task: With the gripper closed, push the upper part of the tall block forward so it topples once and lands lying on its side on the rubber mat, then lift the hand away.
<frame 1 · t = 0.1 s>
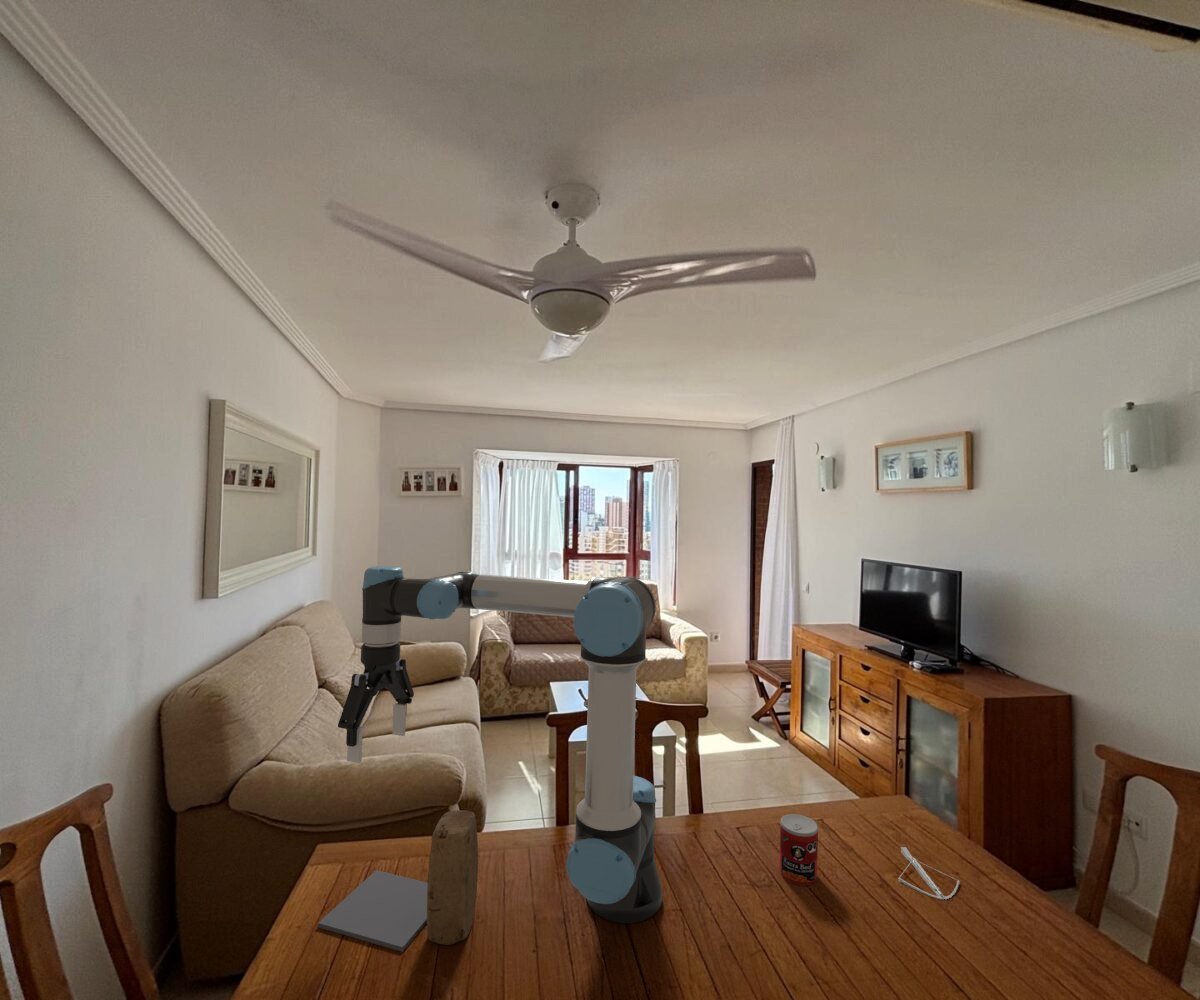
hand: (377, 747, 115), 28 cm above the table, fingers open, 13 cm apart
block: (452, 927, 105), on the table
canned food: (798, 875, 122), on the table
crossbow: (922, 877, 124), on the table
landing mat: (388, 909, 109), on the table
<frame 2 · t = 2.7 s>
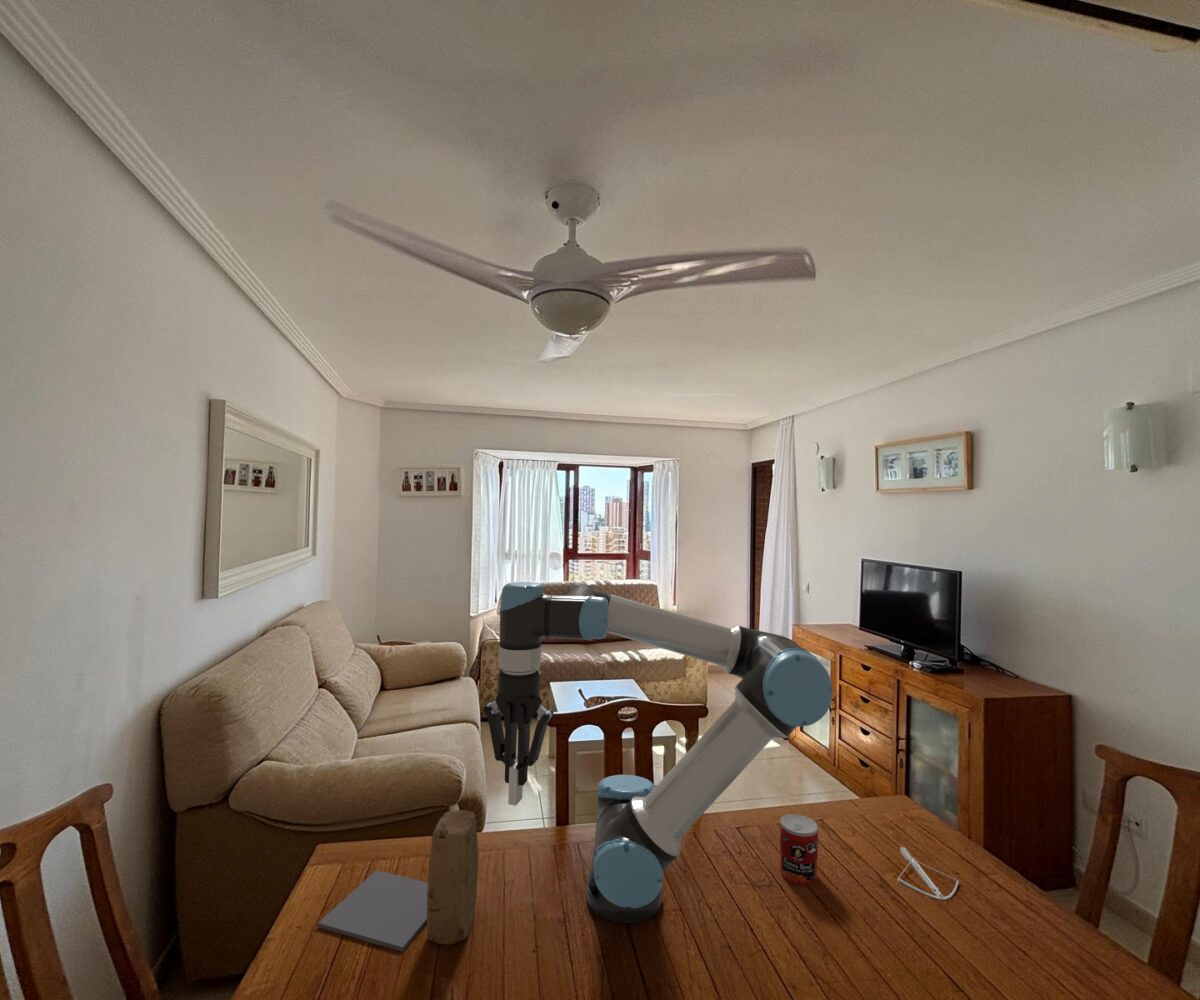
hand: (515, 801, 102), 25 cm above the table, fingers closed
nothing on the table moved.
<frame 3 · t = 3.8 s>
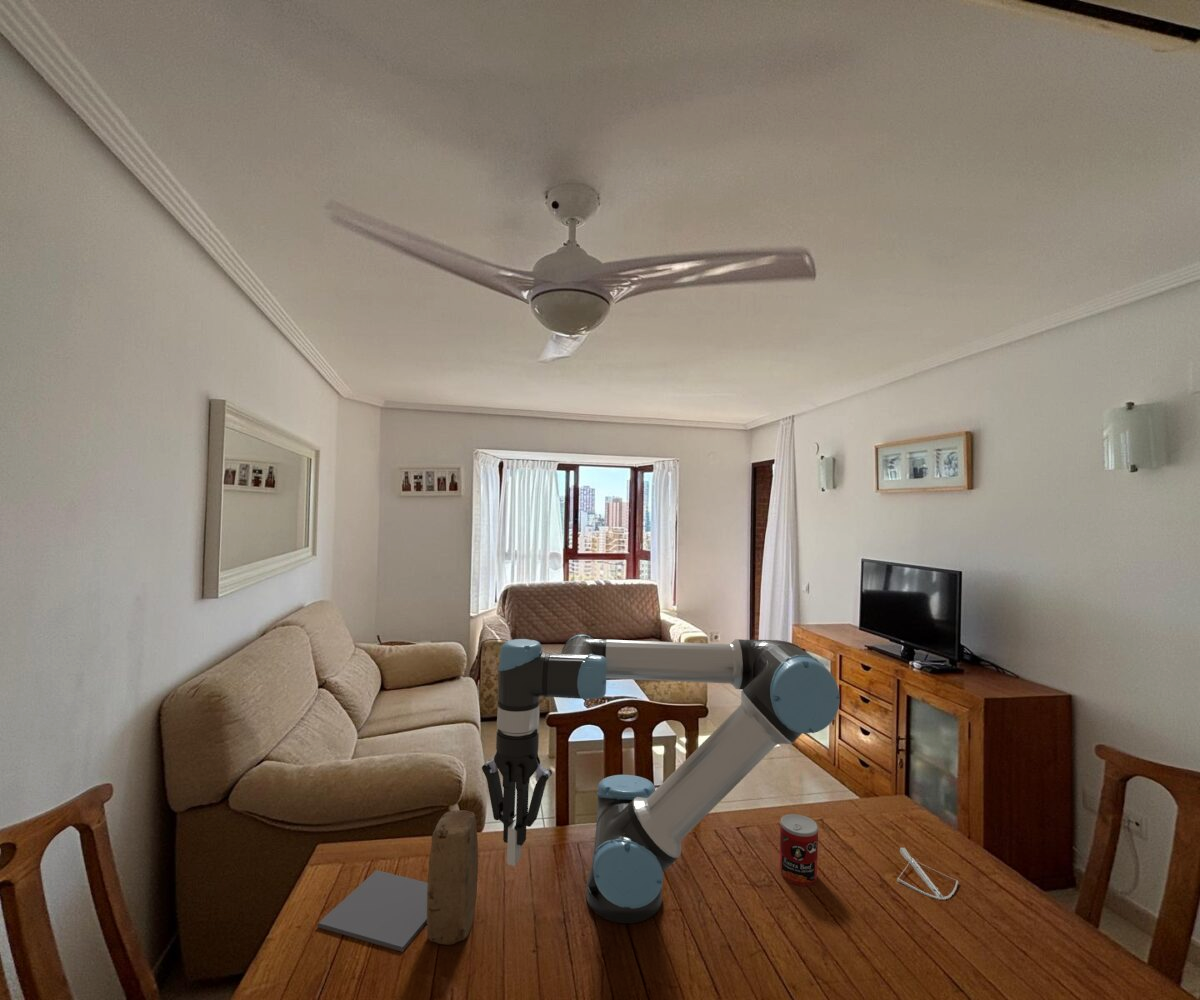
hand: (514, 860, 101), 14 cm above the table, fingers closed
nothing on the table moved.
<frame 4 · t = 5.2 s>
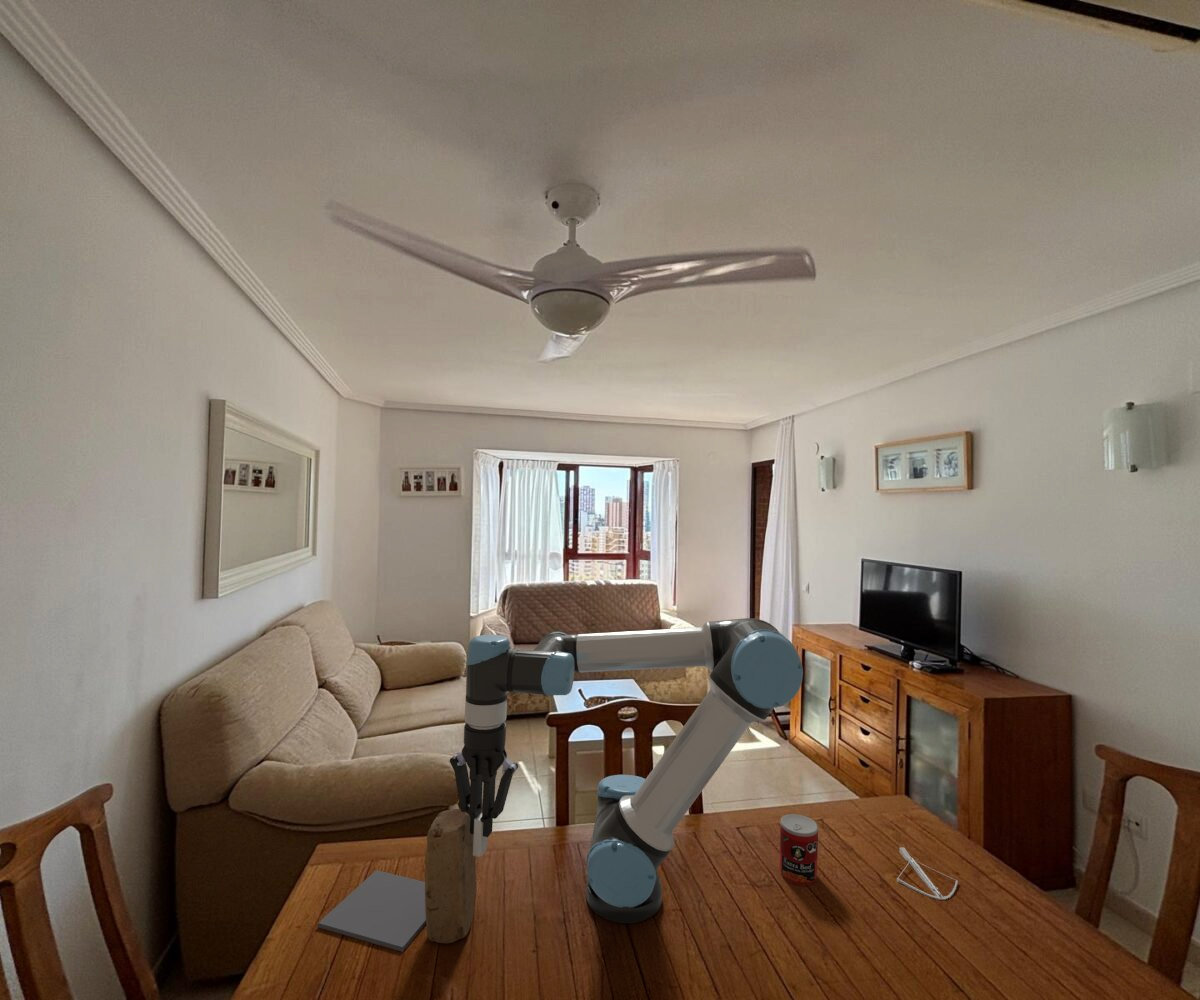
hand: (480, 852, 103), 15 cm above the table, fingers closed
block: (452, 926, 105), on the table, touching gripper
everything else where it was.
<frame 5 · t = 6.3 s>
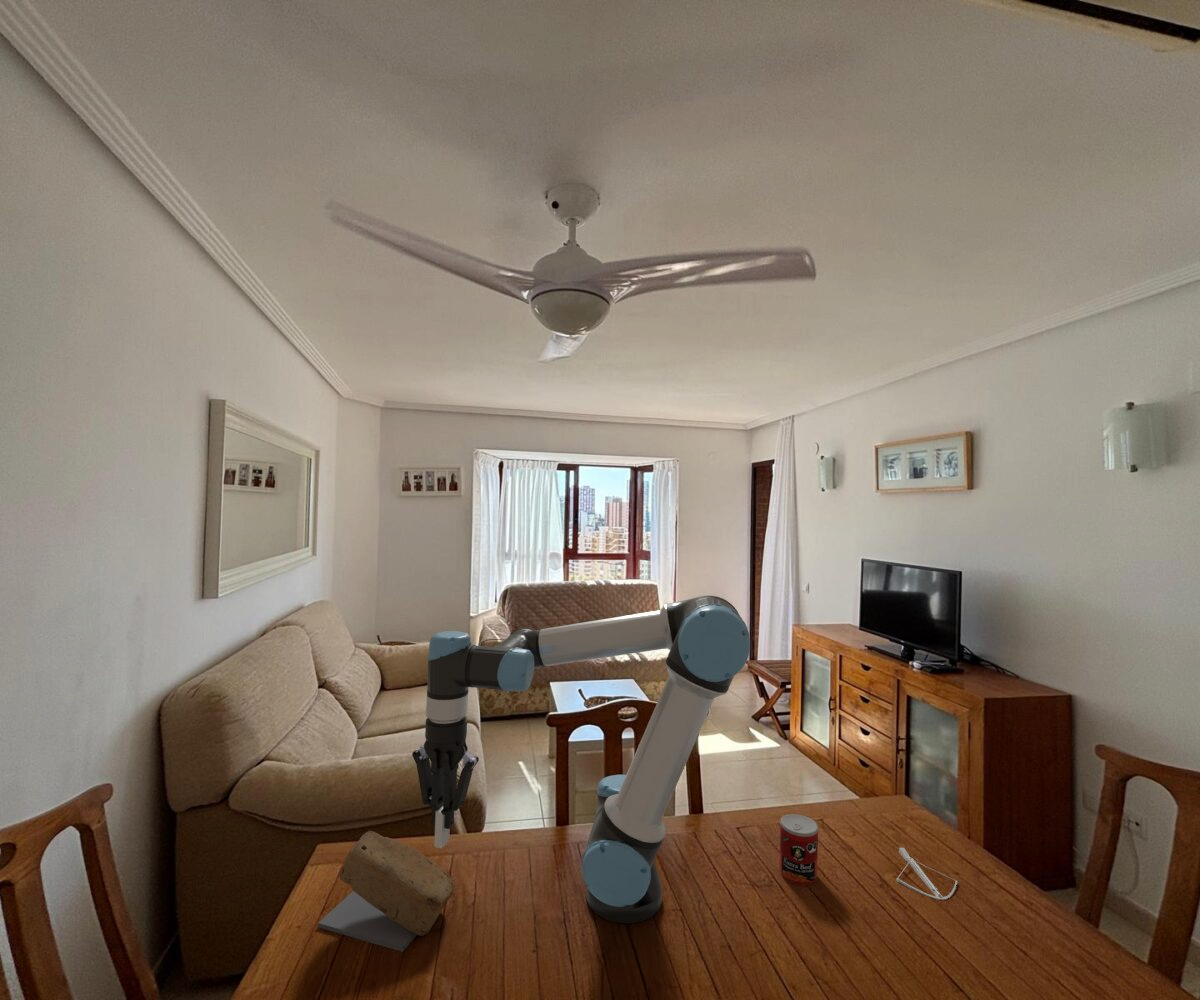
hand: (441, 843, 106), 15 cm above the table, fingers closed
block: (444, 908, 105), point 3 cm above the table, touching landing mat
everything else where it was.
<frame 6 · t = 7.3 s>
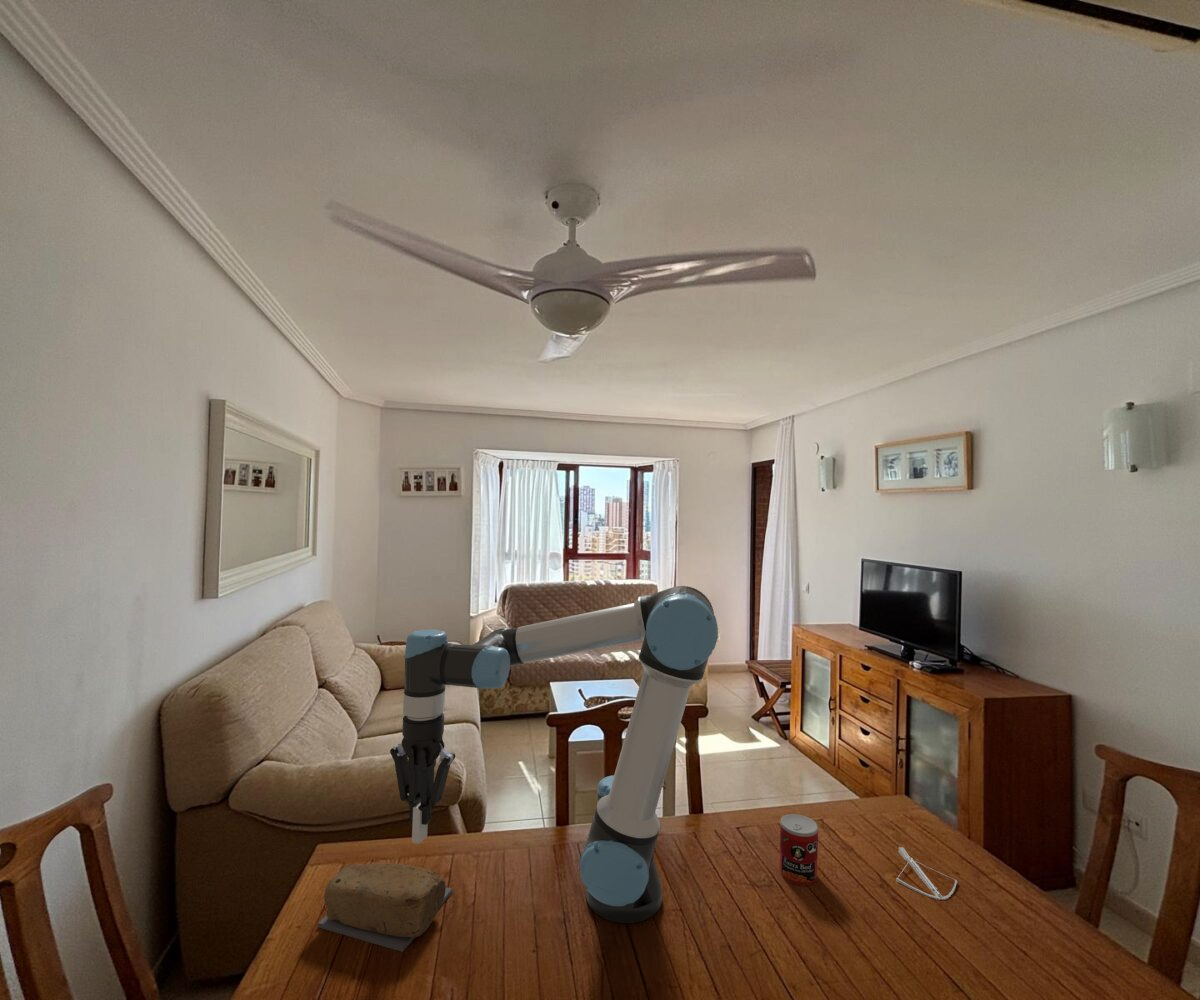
hand: (419, 839, 107), 15 cm above the table, fingers closed
block: (435, 904, 104), point 5 cm above the table, touching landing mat
everything else where it was.
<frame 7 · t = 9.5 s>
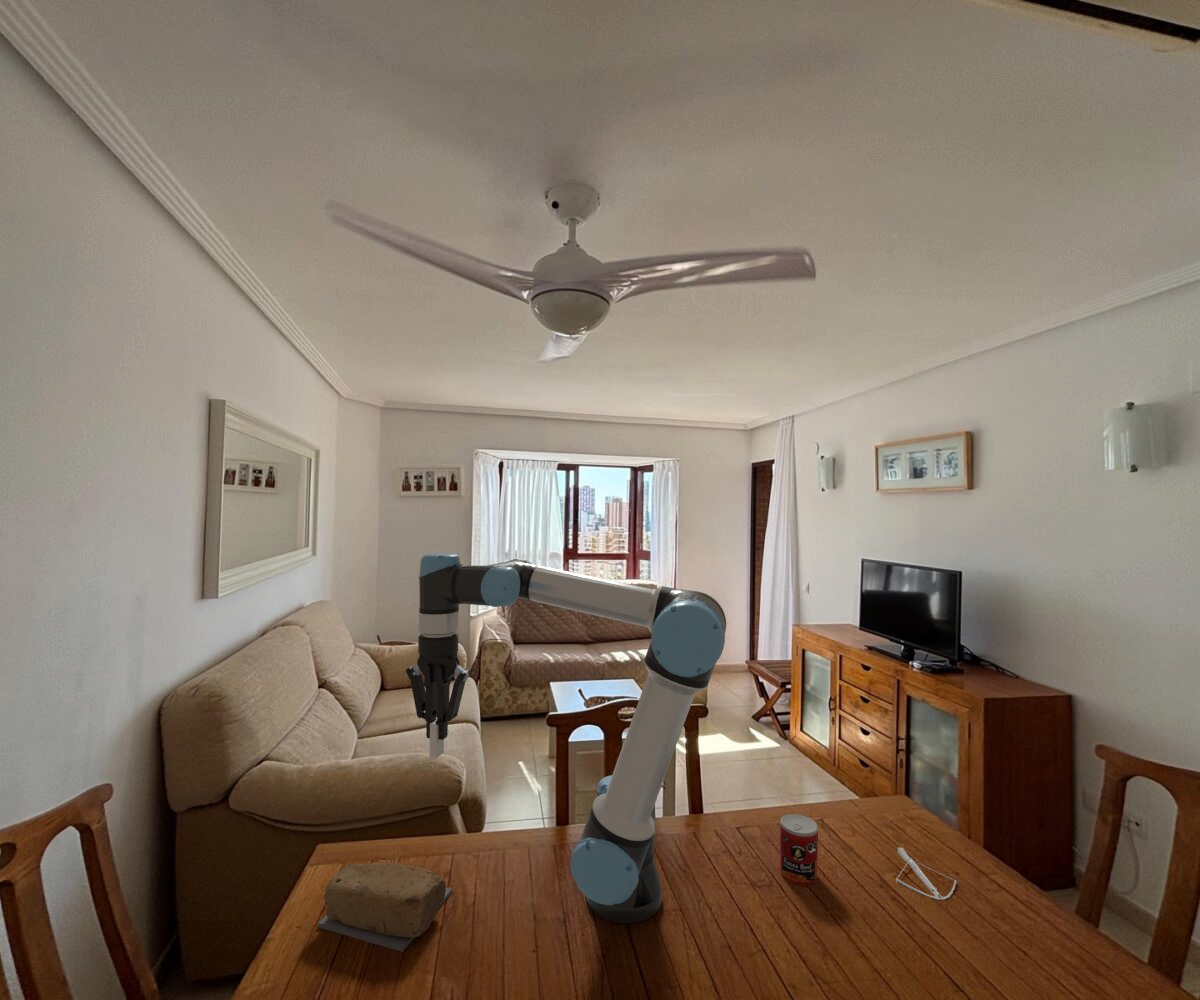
hand: (436, 754, 110), 29 cm above the table, fingers closed
nothing on the table moved.
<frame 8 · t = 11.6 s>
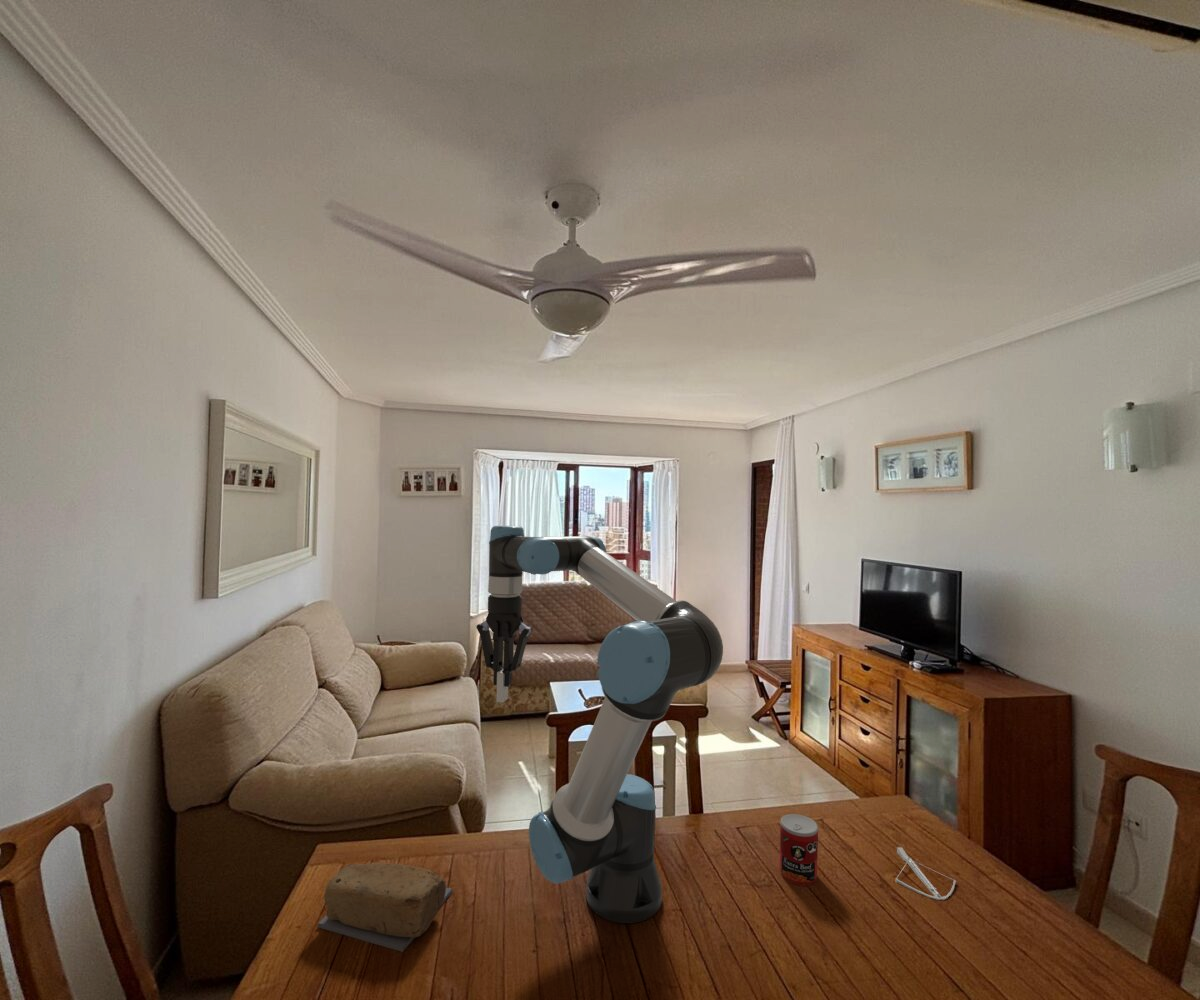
hand: (502, 700, 127), 34 cm above the table, fingers closed
nothing on the table moved.
at the end: block tilted 91°; block touching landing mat; block inside the target area (6.7 cm from its centre), point 4.7 cm above the table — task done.
